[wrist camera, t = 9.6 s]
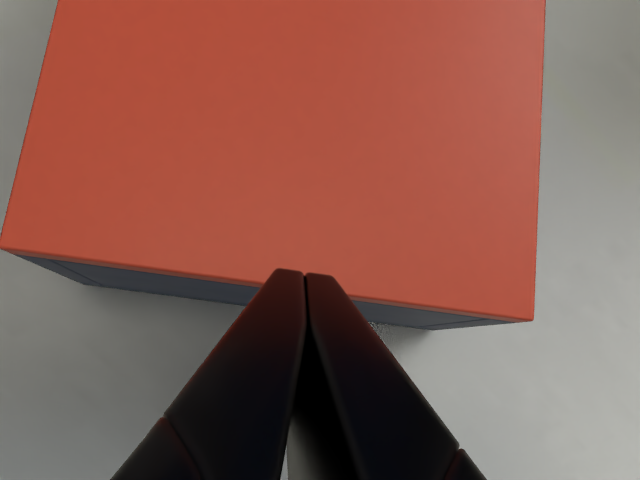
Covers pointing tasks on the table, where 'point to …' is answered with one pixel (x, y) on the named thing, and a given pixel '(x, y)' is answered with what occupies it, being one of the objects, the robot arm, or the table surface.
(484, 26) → the lid
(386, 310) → the box
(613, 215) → the table surface
